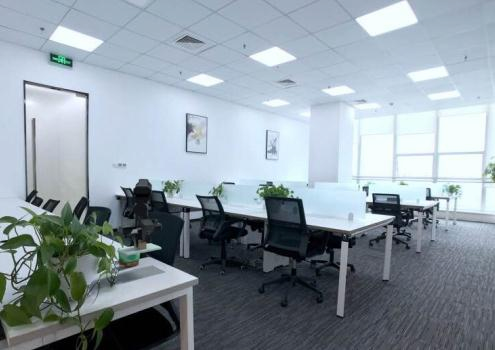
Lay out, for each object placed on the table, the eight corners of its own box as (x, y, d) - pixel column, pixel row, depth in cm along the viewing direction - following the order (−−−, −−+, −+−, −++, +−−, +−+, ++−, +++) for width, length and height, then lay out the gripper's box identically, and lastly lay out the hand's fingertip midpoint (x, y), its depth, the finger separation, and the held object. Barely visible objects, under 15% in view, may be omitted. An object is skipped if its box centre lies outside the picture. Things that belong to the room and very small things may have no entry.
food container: (123, 271, 131) (123, 250, 131) (116, 268, 135) (117, 247, 135) (146, 265, 141) (147, 245, 141) (139, 262, 145) (140, 243, 145)
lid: (117, 250, 126) (118, 242, 126) (150, 244, 138) (151, 237, 138) (127, 255, 119) (127, 246, 119) (161, 249, 131) (161, 240, 131)
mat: (111, 275, 126) (111, 274, 126) (152, 266, 140) (152, 265, 140) (123, 284, 117) (123, 283, 117) (165, 272, 132) (166, 272, 132)
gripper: (129, 216, 116) (127, 254, 116) (168, 213, 130) (167, 246, 130) (118, 213, 124) (116, 248, 124) (156, 210, 137) (155, 242, 137)
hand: (140, 246), depth 129 cm, fingers closed on lid, 3 cm apart
